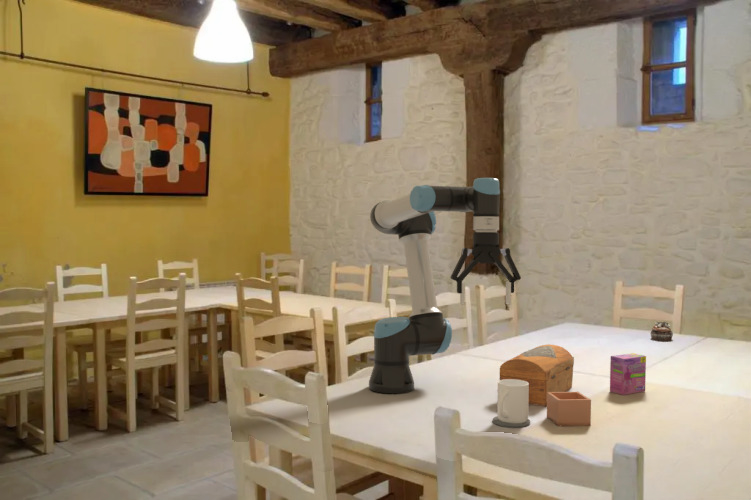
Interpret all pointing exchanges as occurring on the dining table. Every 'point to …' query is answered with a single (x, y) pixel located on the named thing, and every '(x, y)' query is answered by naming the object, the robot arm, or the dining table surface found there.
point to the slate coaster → (500, 423)
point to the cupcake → (661, 332)
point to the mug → (513, 401)
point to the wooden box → (541, 371)
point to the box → (627, 373)
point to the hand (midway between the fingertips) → (485, 304)
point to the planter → (569, 408)
